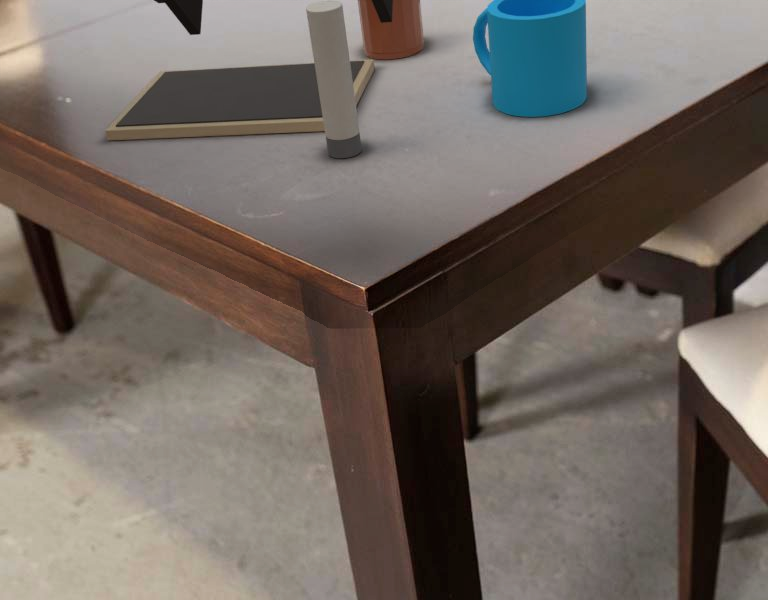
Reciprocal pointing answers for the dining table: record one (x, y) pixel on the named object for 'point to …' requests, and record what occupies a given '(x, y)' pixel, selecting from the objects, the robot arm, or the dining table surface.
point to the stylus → (334, 78)
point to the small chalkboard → (230, 102)
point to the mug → (534, 55)
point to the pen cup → (392, 30)
